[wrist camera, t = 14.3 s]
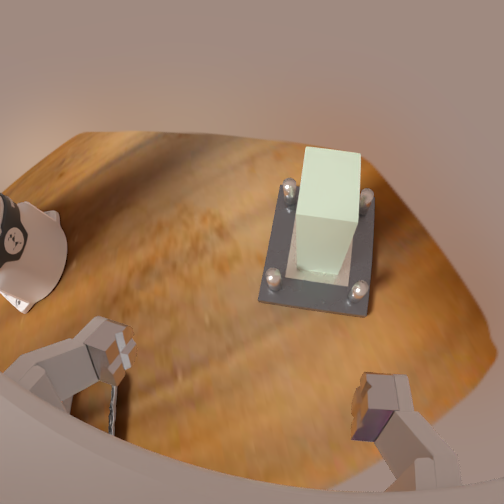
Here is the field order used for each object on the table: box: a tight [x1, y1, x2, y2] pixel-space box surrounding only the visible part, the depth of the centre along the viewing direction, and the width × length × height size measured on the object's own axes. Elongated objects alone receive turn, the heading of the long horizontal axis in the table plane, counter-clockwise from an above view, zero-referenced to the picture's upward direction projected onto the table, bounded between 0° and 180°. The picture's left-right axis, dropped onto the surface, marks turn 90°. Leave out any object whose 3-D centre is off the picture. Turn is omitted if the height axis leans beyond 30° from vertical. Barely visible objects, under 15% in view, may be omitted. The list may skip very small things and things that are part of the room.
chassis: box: [258, 178, 375, 318], centre depth 37 cm, size 13×16×5 cm
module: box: [296, 147, 361, 275], centre depth 32 cm, size 5×7×14 cm
